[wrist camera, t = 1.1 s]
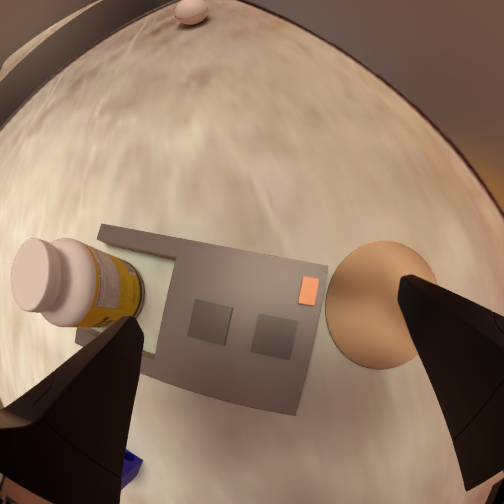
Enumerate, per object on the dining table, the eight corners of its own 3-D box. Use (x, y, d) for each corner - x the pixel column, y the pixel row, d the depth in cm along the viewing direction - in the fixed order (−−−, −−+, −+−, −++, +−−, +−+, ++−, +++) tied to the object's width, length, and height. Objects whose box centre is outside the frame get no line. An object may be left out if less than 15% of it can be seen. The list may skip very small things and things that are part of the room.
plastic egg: (178, 22, 34) (169, -1, 29) (208, 13, 34) (202, -10, 29) (180, 38, 32) (171, 13, 27) (215, 28, 32) (208, 2, 27)
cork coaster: (426, 371, 19) (428, 372, 19) (312, 359, 21) (313, 360, 20) (442, 254, 21) (444, 253, 21) (336, 231, 23) (337, 229, 23)
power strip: (294, 408, 20) (295, 418, 18) (85, 341, 23) (71, 342, 21) (324, 270, 22) (329, 264, 20) (111, 228, 25) (98, 221, 23)
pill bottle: (86, 309, 24) (-4, 297, 13) (107, 251, 25) (23, 212, 14) (133, 339, 23) (40, 346, 11) (157, 274, 24) (71, 242, 13)
